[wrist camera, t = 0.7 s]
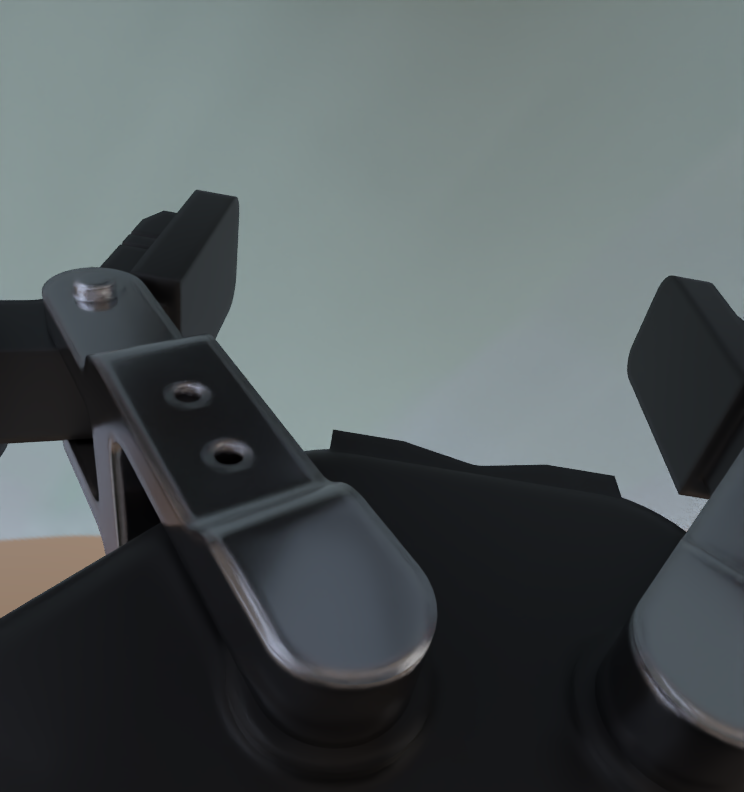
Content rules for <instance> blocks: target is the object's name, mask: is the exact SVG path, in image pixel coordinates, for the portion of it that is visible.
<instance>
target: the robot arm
mask: <svg viewBox="0 0 744 792" xmlns="http://www.w3.org/2000/svg"><path fill="white" fill-rule="evenodd" d="M238 227H239V201H238V198H237V197H234V196H229V195H223V194H218V193H212V192H206V191H201V190H195V191H194V193H193V194H192V195H191V196H190V198H189V199H188V200H187V201H186V203H185V204H184V205H183V206H182V208H181V209H180V210H179V211H178V213H174V212H168V211H162V212H160V213H157V214H155V215H152V216H150V217H148V218H145V219H143V220H142V221H141V222H140V223H139V224H138V225H137V226H136V227H135V229H134V230H133V231H132V234H129V235H128V236H127V238H126V239H125V240H124V241H123V243H122V245H119V246H118V248H117V249H116V250H115V251H114V252H113V253H112V254H111V255H110V256H109V258H108V259H107V260H106V261H105V262H104V263H103V264H102V265H101V267H89V268H79V269H73V270H69V271H65V272H62V273H60V274H57V275H55V276H53V277H52V278H50V279H49V280H48V281H47V282H46V283H45V284H44V286H43V288H42V298H43V299H39V300H0V457H1V455H2V454H3V452H4V451H5V449H6V447H7V444H8V443H24V442H41V441H58V440H63V446H64V449H65V451H66V454H67V456H68V458H69V461H70V463H71V465H72V467H73V470H74V472H75V474H76V477H77V479H78V481H79V483H80V486H81V488H82V490H83V493H84V495H85V497H86V499H87V502H88V504H89V506H90V508H91V511H92V513H93V515H94V518H95V520H96V522H97V525H98V528H99V531H100V534H101V537H102V541H103V545H104V549H105V554H106V556H104V557H102V558H101V559H99V560H97V561H96V562H94V563H92V564H90V565H89V566H87V567H85V568H84V569H82V570H80V571H79V572H77V573H75V574H74V575H72V576H70V577H69V578H67V579H65V580H64V581H62V582H60V583H59V584H57V585H55V586H54V587H52V588H50V589H48V590H47V591H45V592H44V593H42V594H40V595H38V596H37V597H35V598H33V599H32V600H30V601H28V602H27V603H25V604H23V605H22V606H20V607H18V608H17V609H15V610H13V611H12V612H10V613H8V614H7V615H5V616H3V617H2V618H0V792H744V320H742V319H741V318H740V317H738V316H737V315H736V314H735V312H734V311H733V310H732V308H731V307H730V306H729V304H728V303H727V302H726V300H725V299H724V298H723V297H722V295H721V294H720V293H719V291H718V290H717V289H716V287H715V286H714V285H713V284H712V283H710V282H705V281H700V280H694V279H689V278H683V277H677V276H668V277H667V278H665V279H664V280H663V282H662V283H661V285H660V286H659V288H658V290H657V292H656V294H655V297H654V299H653V301H652V303H651V305H650V307H649V310H648V312H647V314H646V316H645V318H644V321H643V323H642V325H641V327H640V329H639V332H638V334H637V336H636V338H635V340H634V343H633V345H632V347H631V350H630V353H629V357H628V365H627V372H628V378H629V380H630V383H631V385H632V387H633V390H634V392H635V394H636V397H637V399H638V401H639V404H640V406H641V408H642V410H643V413H644V415H645V417H646V420H647V422H648V424H649V427H650V429H651V431H652V433H653V436H654V438H655V440H656V443H657V445H658V447H659V450H660V452H661V454H662V457H663V459H664V461H665V463H666V466H667V468H668V470H669V473H670V475H671V477H672V480H673V482H674V484H675V487H676V489H677V491H678V493H679V495H685V496H692V497H698V498H704V499H709V500H708V501H707V503H706V504H705V506H704V507H703V509H702V510H701V512H700V513H699V515H698V516H697V518H696V519H695V521H694V522H693V524H692V525H691V527H690V528H689V530H688V531H687V532H686V531H684V530H683V529H681V528H680V527H679V526H677V525H676V524H674V523H673V522H671V521H669V520H668V519H666V518H665V517H663V516H661V515H660V514H658V513H656V512H654V511H652V510H650V509H648V508H646V507H644V506H642V505H639V504H637V503H635V502H632V501H630V500H627V499H624V498H622V497H621V494H620V491H619V488H618V485H617V482H616V479H615V476H611V475H605V474H599V473H593V472H587V471H581V470H575V469H569V468H563V467H557V466H551V465H509V466H477V465H472V464H469V463H466V462H463V461H460V460H457V459H454V458H451V457H448V456H445V455H442V454H439V453H436V452H433V451H431V450H428V449H425V448H422V447H419V446H416V445H413V444H410V443H407V442H404V441H399V440H393V439H387V438H381V437H375V436H369V435H362V434H356V433H350V432H344V431H338V430H333V434H332V440H331V446H330V449H322V450H310V451H303V450H302V448H301V447H300V446H299V445H298V443H297V442H296V441H295V439H294V438H293V437H292V436H291V434H290V433H289V432H288V431H287V429H286V428H285V427H284V426H283V424H282V423H281V422H280V420H279V419H278V418H277V417H276V415H275V414H274V413H273V412H272V410H271V409H270V408H269V407H268V405H267V404H266V403H265V402H264V400H263V399H262V398H261V396H260V395H259V394H258V393H257V391H256V390H255V389H254V388H253V386H252V385H251V384H250V383H249V381H248V380H247V379H246V377H245V376H244V375H243V374H242V372H241V371H240V370H239V369H238V367H237V366H236V365H235V364H234V362H233V361H232V360H231V359H230V357H229V356H228V355H227V353H226V352H225V351H224V350H223V348H222V347H221V346H220V345H219V343H218V342H217V341H216V340H215V339H216V337H217V334H218V332H219V330H220V328H221V326H222V324H223V322H224V320H225V318H226V316H227V314H228V312H229V309H230V307H231V304H232V300H233V296H234V290H235V283H236V269H237V248H238Z"/></svg>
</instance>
